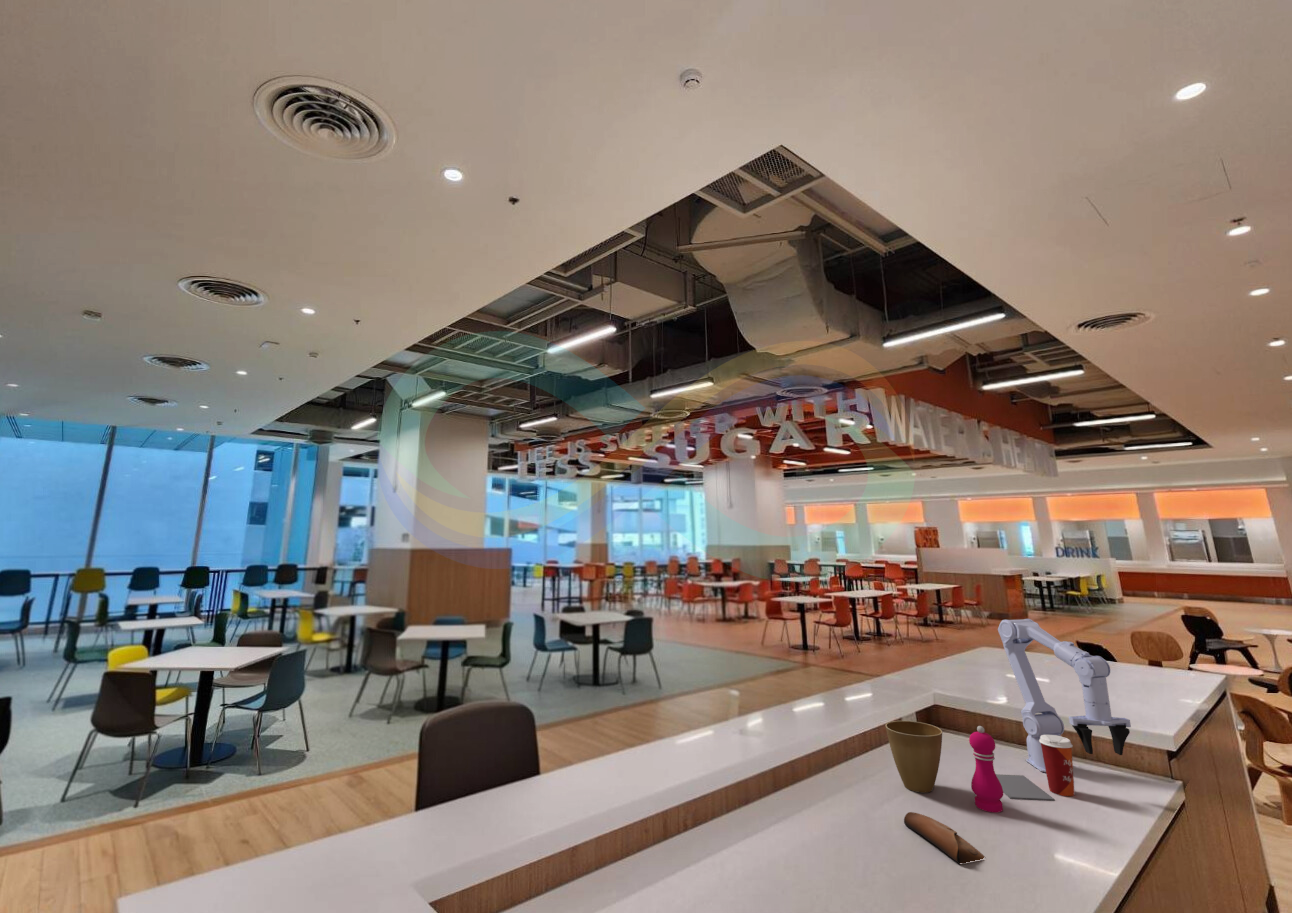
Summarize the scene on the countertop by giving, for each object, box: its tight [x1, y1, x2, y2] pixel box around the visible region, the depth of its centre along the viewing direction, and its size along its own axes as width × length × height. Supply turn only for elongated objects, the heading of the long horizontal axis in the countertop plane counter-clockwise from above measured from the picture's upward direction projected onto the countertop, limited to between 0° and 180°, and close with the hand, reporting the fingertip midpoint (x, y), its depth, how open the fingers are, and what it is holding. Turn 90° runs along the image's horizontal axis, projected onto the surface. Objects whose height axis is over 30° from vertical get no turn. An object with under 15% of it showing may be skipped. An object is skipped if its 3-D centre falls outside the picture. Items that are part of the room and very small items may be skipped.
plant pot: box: [885, 720, 943, 794], centre depth 160 cm, size 15×15×16 cm
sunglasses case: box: [903, 811, 985, 864], centre depth 129 cm, size 18×7×7 cm, turn 12°
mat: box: [995, 773, 1056, 802], centre depth 157 cm, size 16×11×1 cm
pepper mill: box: [968, 725, 1004, 814], centre depth 147 cm, size 7×7×20 cm
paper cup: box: [1039, 735, 1075, 797], centre depth 155 cm, size 8×8×14 cm
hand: (1103, 753), depth 154 cm, fingers open, 7 cm apart
